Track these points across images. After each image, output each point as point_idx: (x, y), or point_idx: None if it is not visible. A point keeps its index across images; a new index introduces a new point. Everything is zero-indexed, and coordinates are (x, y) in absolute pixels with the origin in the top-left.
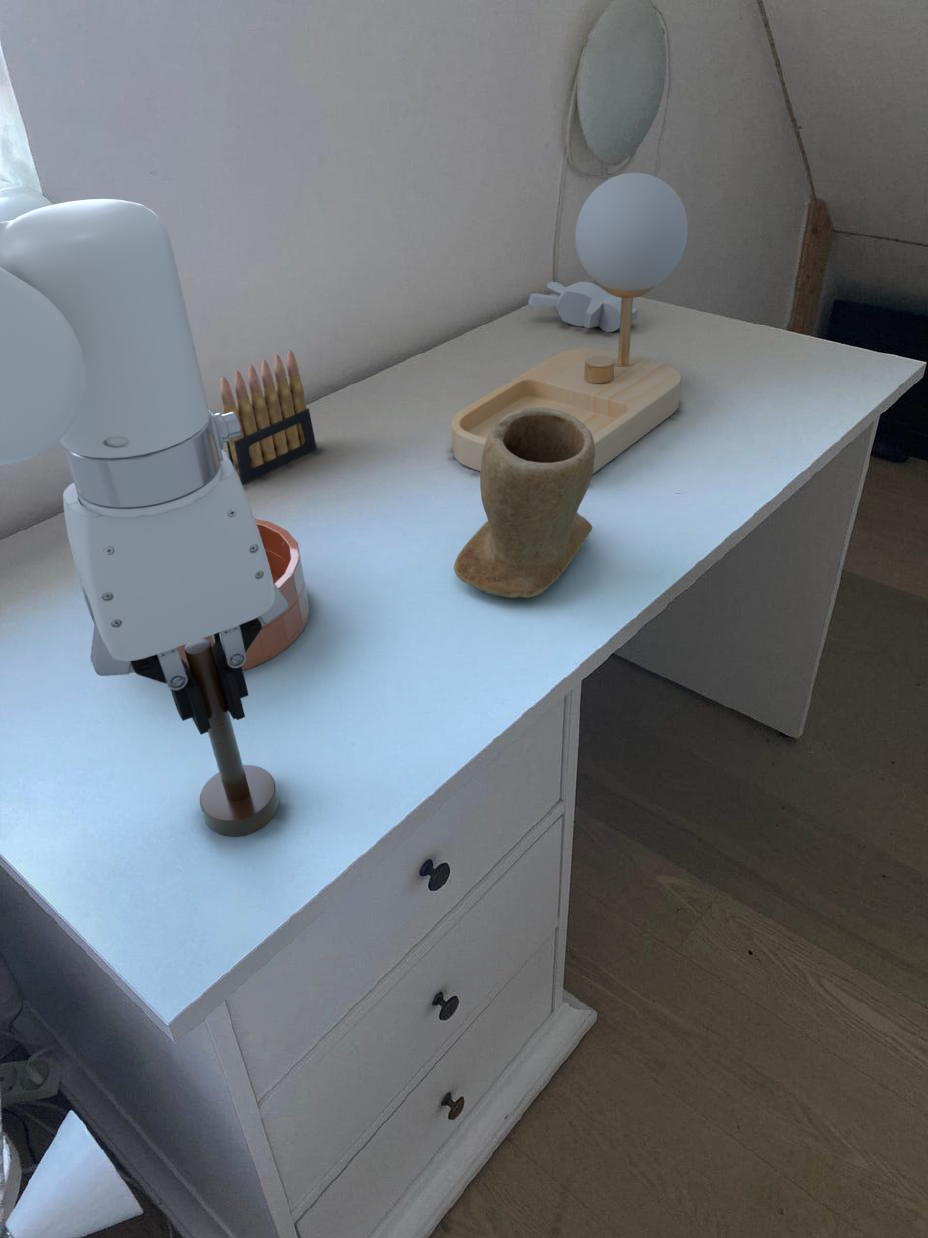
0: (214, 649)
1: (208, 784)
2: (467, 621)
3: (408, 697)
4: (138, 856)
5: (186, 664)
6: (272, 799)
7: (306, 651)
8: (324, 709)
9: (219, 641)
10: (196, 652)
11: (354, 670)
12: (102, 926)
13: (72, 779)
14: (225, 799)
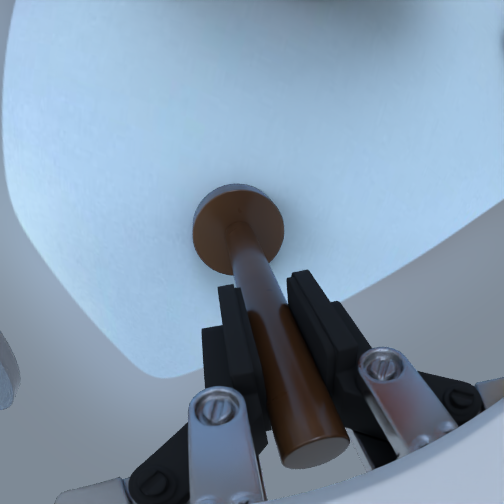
0: (346, 401)
1: (207, 209)
2: (496, 86)
3: (436, 146)
4: (121, 251)
5: (263, 386)
6: (273, 257)
7: (373, 9)
8: (365, 112)
9: (369, 409)
10: (306, 465)
11: (410, 73)
12: (97, 313)
13: (54, 109)
14: (223, 241)
